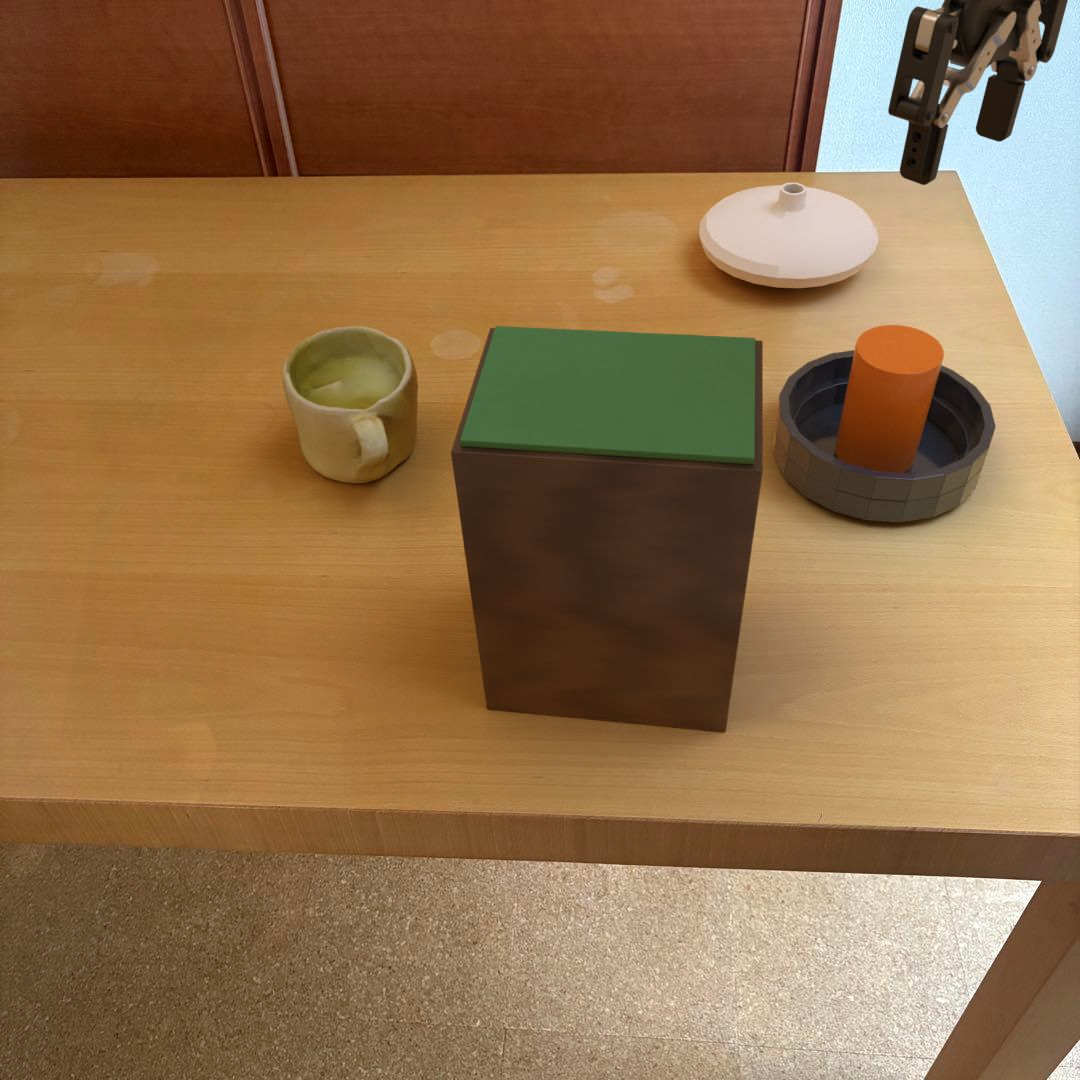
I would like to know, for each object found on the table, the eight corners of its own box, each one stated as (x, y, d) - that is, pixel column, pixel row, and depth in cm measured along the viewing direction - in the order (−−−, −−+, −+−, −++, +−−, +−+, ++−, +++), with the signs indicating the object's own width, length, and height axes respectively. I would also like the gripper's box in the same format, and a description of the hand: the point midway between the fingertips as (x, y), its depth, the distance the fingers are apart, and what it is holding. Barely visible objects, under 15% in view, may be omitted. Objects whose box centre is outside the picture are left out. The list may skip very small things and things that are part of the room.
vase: (768, 329, 88) (778, 254, 83) (663, 249, 97) (666, 177, 92) (910, 274, 93) (928, 200, 88) (796, 203, 102) (806, 132, 97)
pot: (963, 403, 80) (978, 354, 76) (992, 535, 70) (1010, 485, 66) (771, 392, 81) (778, 344, 78) (773, 520, 72) (780, 471, 68)
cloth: (754, 344, 52) (755, 337, 52) (753, 465, 46) (754, 457, 45) (496, 332, 54) (495, 325, 54) (460, 446, 48) (459, 439, 47)
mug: (273, 394, 81) (287, 300, 73) (403, 408, 84) (430, 319, 76) (271, 523, 74) (286, 433, 67) (412, 532, 77) (442, 448, 70)
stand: (729, 602, 67) (762, 340, 52) (725, 732, 60) (763, 471, 45) (514, 584, 68) (489, 327, 54) (486, 709, 62) (450, 451, 47)
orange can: (910, 430, 77) (938, 326, 70) (918, 480, 73) (949, 376, 66) (833, 425, 77) (853, 322, 71) (836, 475, 74) (858, 371, 67)
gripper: (1018, -93, 51) (942, 216, 62) (1160, -151, 57) (1067, 139, 68) (887, -118, 55) (839, 176, 66) (1033, -169, 61) (966, 108, 73)
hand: (955, 157), depth 67 cm, fingers open, 8 cm apart
